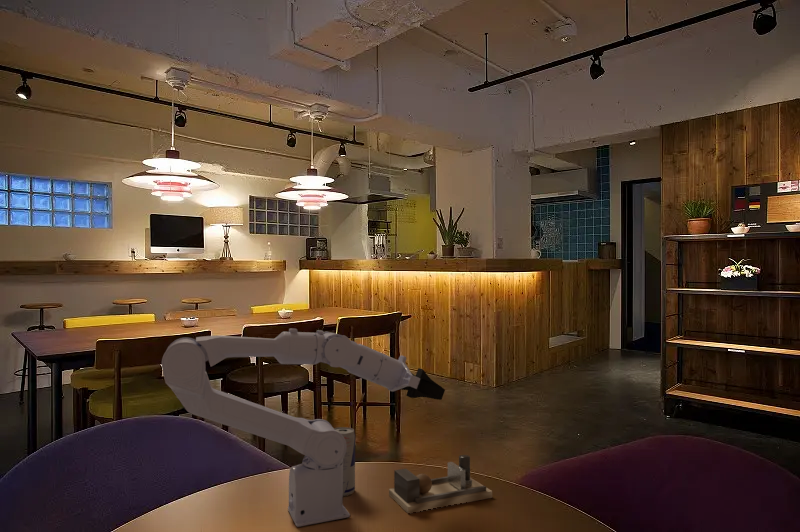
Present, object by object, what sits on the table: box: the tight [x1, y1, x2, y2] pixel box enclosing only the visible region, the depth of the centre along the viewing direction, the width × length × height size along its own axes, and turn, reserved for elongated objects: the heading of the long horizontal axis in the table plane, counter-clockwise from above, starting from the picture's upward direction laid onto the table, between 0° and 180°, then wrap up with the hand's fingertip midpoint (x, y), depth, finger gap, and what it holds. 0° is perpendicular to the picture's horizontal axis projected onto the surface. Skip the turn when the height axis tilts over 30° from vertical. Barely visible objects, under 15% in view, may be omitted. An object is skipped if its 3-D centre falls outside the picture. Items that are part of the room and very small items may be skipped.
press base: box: [388, 468, 493, 514], centre depth 96 cm, size 18×9×5 cm, turn 114°
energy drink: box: [333, 426, 356, 497], centre depth 98 cm, size 5×5×12 cm
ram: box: [447, 454, 472, 490], centre depth 98 cm, size 4×5×5 cm
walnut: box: [415, 473, 432, 494], centre depth 94 cm, size 4×4×4 cm
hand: (433, 391), depth 98 cm, fingers open, 7 cm apart
